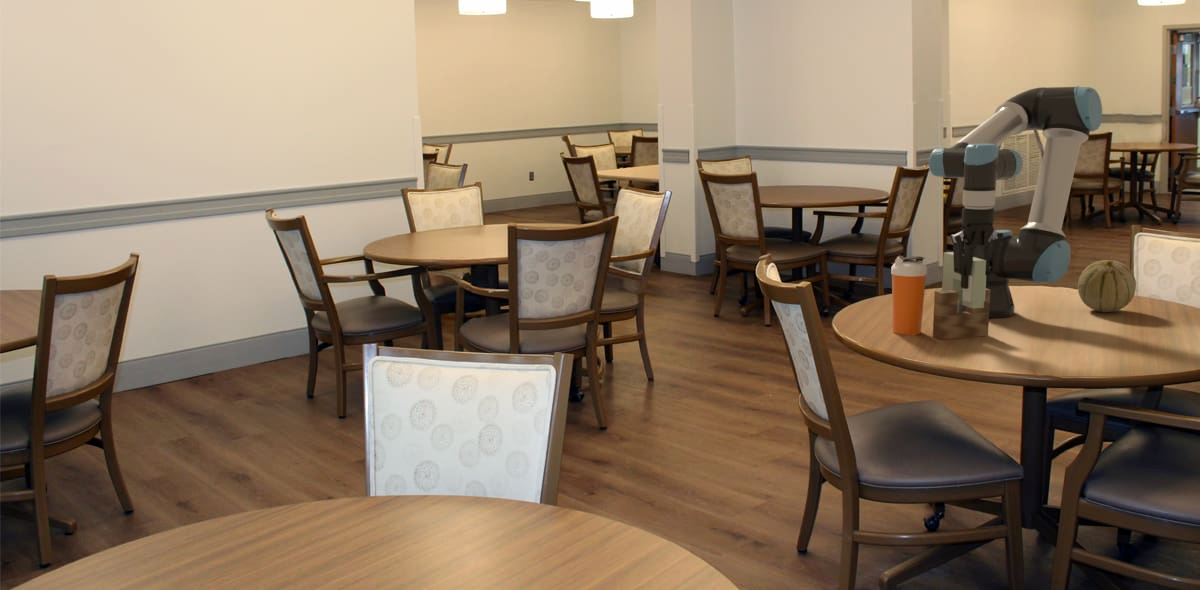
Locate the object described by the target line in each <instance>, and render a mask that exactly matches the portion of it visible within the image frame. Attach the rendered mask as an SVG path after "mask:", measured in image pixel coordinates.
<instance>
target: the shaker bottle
mask: <svg viewBox="0 0 1200 590" xmlns="http://www.w3.org/2000/svg"><path fill="white" fill-rule="evenodd" d="M924 259H925V257H924V256H906V257H904V256H903V255H898V256H896V258H895V260H894V263H893V264H892V266H890V267H891V270H890V271H891V272H890V274H891V285H892V286H891V290H892V291H891V292H892V299H891V300H892V332H893V333H895V334H898V335H903V336H914V335H915V336H917V335H919V334H921V332H922V324H923V312H924V300H925V289H926V288H925V287H926V277H927V274H928V268H927V266H926V264H925V263H924V261H923V260H924Z"/></svg>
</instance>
